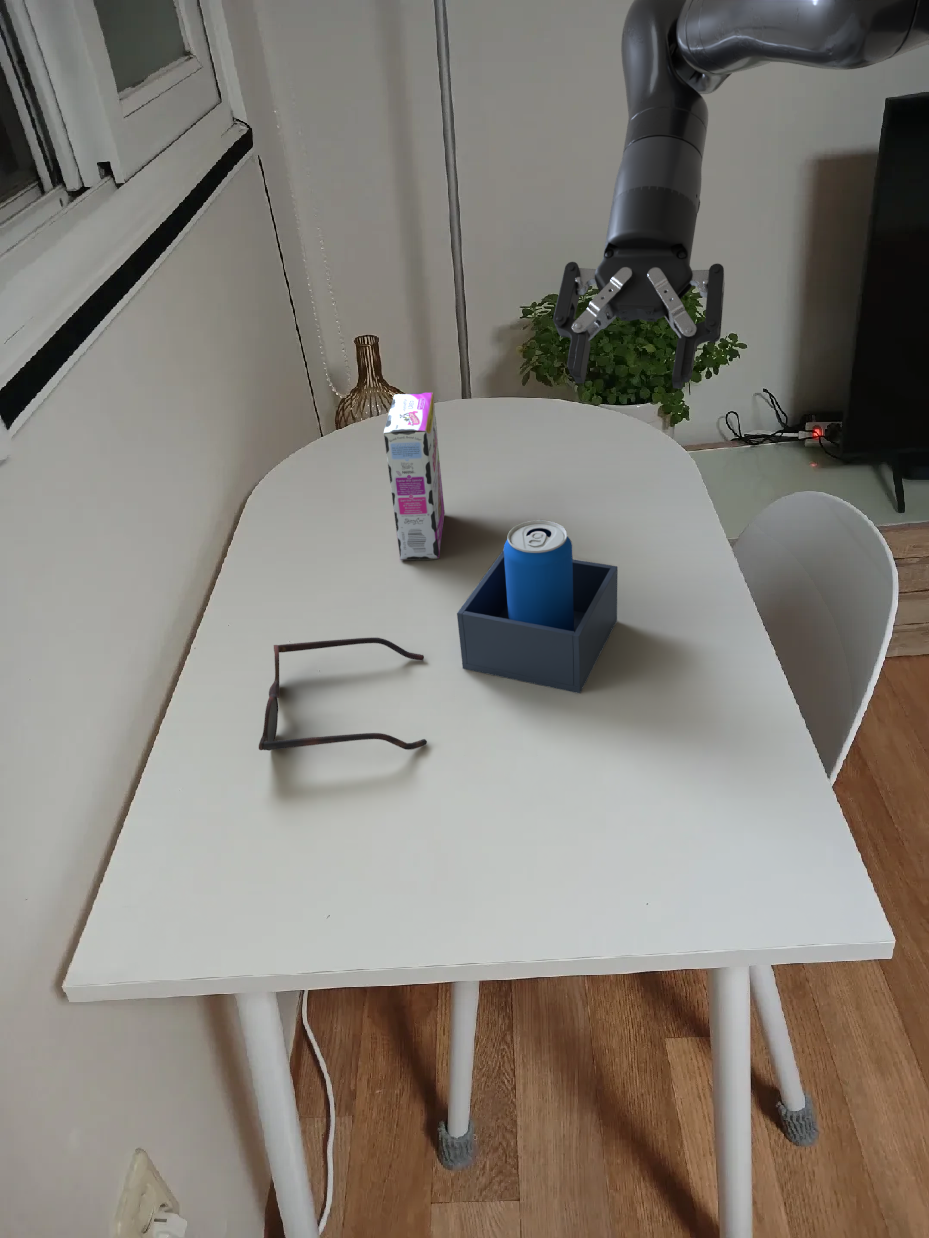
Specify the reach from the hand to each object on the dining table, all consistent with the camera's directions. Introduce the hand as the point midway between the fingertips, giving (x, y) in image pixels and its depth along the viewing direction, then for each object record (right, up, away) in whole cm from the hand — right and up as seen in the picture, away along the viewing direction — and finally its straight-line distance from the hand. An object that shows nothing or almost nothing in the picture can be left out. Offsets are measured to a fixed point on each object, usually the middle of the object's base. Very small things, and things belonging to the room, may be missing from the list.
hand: (627, 382), depth 82 cm
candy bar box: (-19, -10, +34) cm, 40 cm away
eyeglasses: (-25, -29, +9) cm, 39 cm away
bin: (-6, -23, +15) cm, 28 cm away
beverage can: (-6, -22, +15) cm, 27 cm away
